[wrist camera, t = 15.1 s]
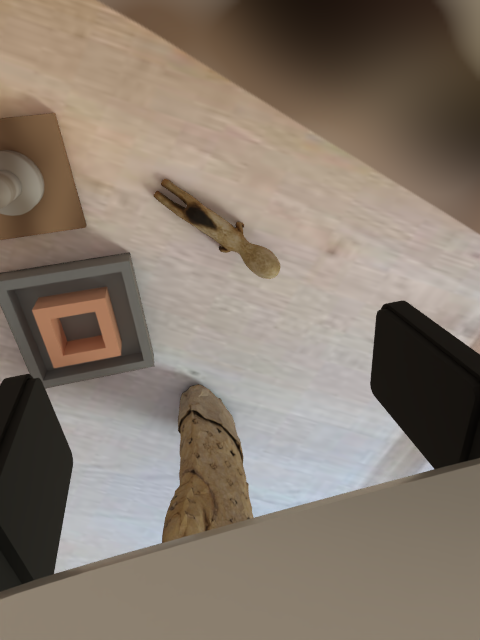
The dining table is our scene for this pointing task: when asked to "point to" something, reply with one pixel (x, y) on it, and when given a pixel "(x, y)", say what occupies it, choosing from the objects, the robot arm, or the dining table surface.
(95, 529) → the dining table surface
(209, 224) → the figurine
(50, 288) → the tray
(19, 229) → the brown piece
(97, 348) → the ring
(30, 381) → the robot arm
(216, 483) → the tan log
